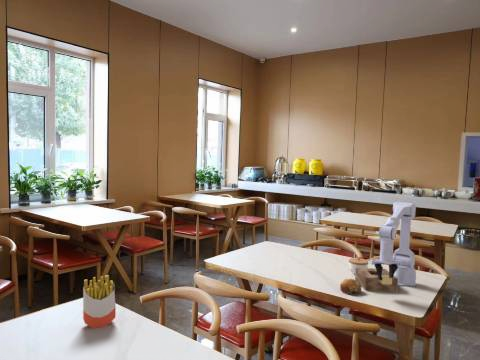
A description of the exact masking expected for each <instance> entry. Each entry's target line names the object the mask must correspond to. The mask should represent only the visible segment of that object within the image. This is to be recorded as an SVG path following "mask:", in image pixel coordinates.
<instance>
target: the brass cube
mask: <svg viewBox="0 0 480 360" xmlns="http://www.w3.org/2000/svg"><path fill="white" fill-rule="evenodd" d="M379 282H380V283H382V284H392V278H391V277H390V276H389V275H382V279H381V280H379Z"/></svg>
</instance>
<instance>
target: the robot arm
mask: <svg viewBox="0 0 480 360" xmlns="http://www.w3.org/2000/svg"><path fill="white" fill-rule="evenodd" d="M392 205H393V206H392V212H393V213H392V214H391V216H390V217H388V218H387V220H386V221H385V224H384V225H382V226H380V227H379V230H378V236H379V241H380V243H379V244H380V245H379V246H380V248H379V249H380V250H379V258H375V259H372V258H371V259H369V263H370V265H374V269H376V270H377V274H378V279H379V280H381V279H382V269H384V267H383V265H387V266H388V271H389V276H390V277H391V278H392V279H393V276H395V277H397V278H398V284H397V286H401V287H404V286H408V287H410V286H411V287H416V286H417V284H416V280H417V271H416V268H415V264H416V263H415V262H416V257H415V252H413V251H412V250H411V249H410V242H411V241H410V240H411V239H410V238H411V226H412V225H411V224H412V220H413V219H415V217H416V210H417V208H416V204H415V203H414V202H403V201H402V202H401V201H397V200H396V201H395V202H393V204H392ZM399 226H400V230H399V231H400V233H399V234H400V235H399V247H398V248H397V249H395V250H394V243H395V242H394V241H395V238H396V236H397V232H398V231H397V229H398V228H399Z"/></svg>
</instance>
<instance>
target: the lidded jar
mask: <svg viewBox="0 0 480 360" xmlns="http://www.w3.org/2000/svg"><path fill="white" fill-rule="evenodd" d="M348 268H349V271H350V272H351V273H352V274H353V275H354V276H355V274H356V268H369V260H367V259H364V258H360V257H353V258H352V257H350V258H349V259H348Z"/></svg>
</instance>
